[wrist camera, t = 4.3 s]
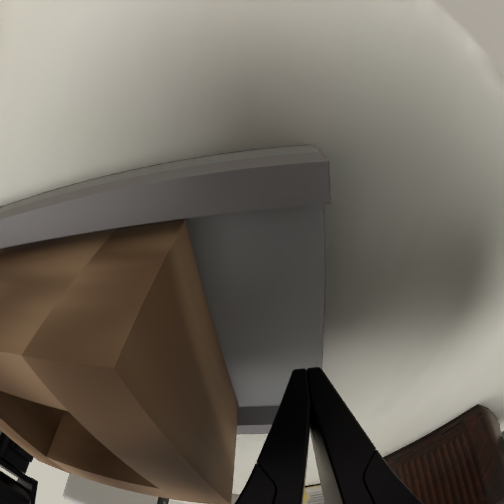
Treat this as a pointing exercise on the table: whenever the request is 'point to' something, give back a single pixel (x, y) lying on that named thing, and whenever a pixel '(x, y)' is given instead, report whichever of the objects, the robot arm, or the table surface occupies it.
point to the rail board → (222, 252)
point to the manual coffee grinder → (455, 461)
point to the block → (117, 363)
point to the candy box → (313, 495)
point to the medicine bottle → (104, 493)
